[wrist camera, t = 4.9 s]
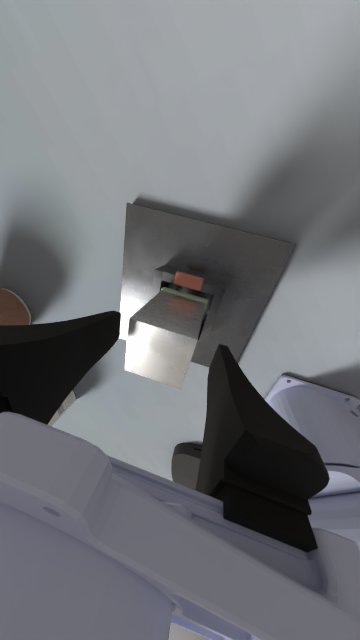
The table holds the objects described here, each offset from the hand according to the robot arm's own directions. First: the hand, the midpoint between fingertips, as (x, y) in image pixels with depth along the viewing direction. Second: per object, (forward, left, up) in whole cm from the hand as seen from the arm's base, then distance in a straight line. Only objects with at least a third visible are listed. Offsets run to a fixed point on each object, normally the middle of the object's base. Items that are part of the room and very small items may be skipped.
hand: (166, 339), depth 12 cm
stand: (0, 0, -9) cm, 9 cm away
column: (0, 0, -5) cm, 5 cm away
